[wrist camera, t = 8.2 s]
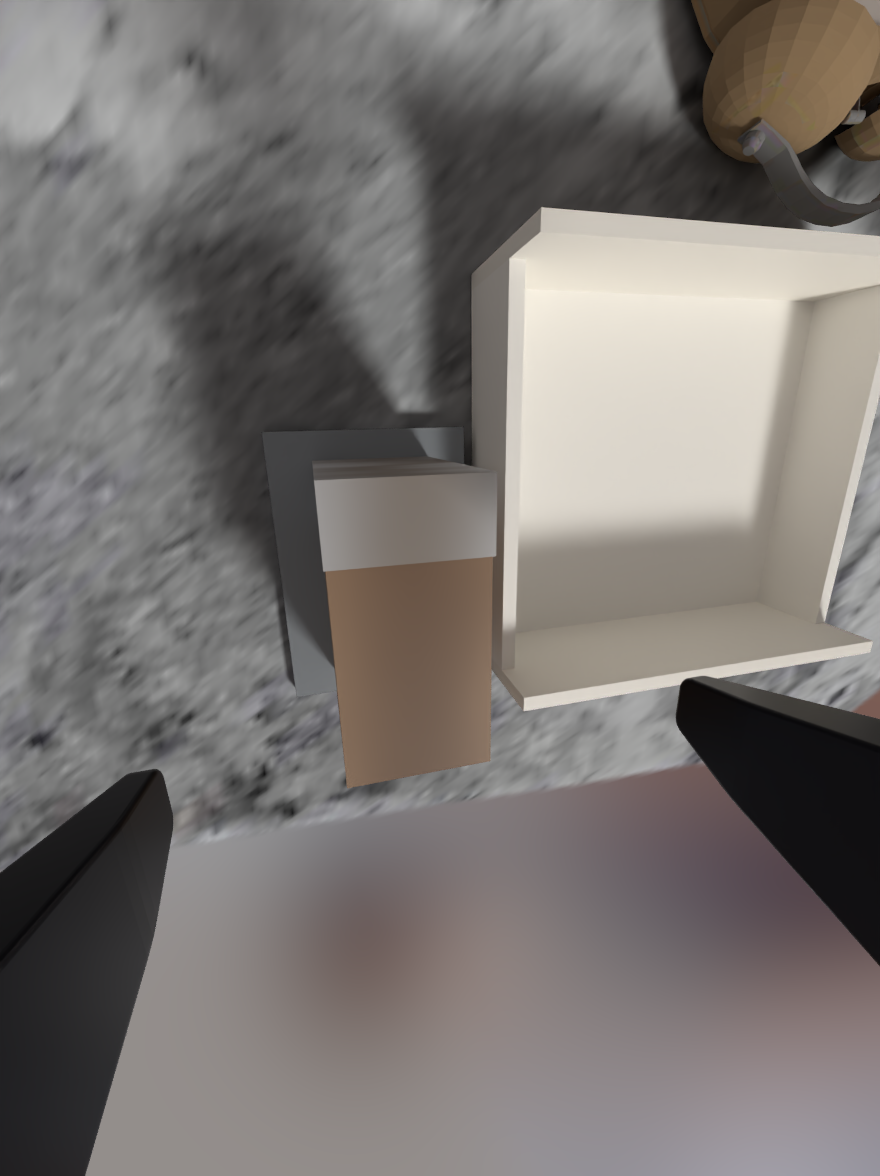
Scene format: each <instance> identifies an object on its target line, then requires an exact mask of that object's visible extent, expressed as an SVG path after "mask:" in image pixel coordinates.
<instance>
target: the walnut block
mask: <svg viewBox="0 0 880 1176" xmlns="http://www.w3.org/2000/svg"><path fill="white" fill-rule="evenodd" d="M312 465H313V476H314V486H315V495H316V505H317V515H318V525H319V535H320V545H321V554H322V564H323V572H325V579H326V589H327V599H328V609H329V619H330V628H331V638H332V648H333V658H334V668H335V678H336V687H337V696H338V706H339V715H340V724H341V734H342V743H343V753H344V762H345V771H346V781H347V788H351V787H356V786H362V785H367V784H372V783H377V782H383V781H388V780H393V779H398V778H404V777H409V776H414V775H419V774H425V773H430V772H435V771H440V770H446V769H451V768H456V767H461V766H467V765H472V764H477V763H482V762H488V761H490V740H491V659H492V578H493V557H494V556H496V533H497V472H495V471H491V470H487V469H482V468H478V467H473V466H469V465H464V464H460V463H455V462H451V461H447V460H442V459H438V458H433V457H429V456H423V457H396V458H369V459H343V460H316V461H312Z"/></svg>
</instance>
